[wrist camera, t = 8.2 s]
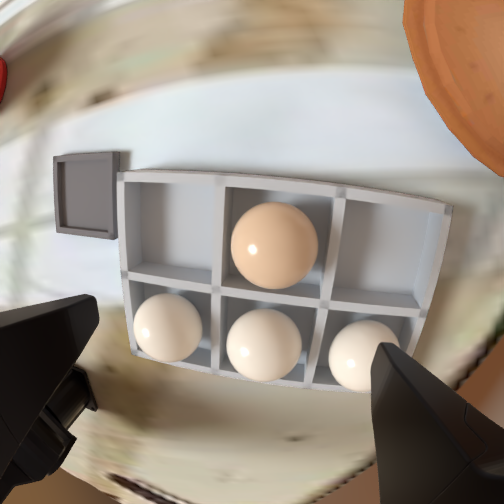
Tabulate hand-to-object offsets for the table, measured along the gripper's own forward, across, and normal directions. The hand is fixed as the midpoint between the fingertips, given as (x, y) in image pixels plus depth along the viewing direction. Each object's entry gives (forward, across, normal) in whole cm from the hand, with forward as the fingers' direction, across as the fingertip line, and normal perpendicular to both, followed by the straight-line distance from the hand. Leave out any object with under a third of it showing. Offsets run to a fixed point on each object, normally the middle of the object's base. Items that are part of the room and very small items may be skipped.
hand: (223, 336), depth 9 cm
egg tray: (+12, 0, +3) cm, 12 cm away
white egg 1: (+9, +6, +6) cm, 13 cm away
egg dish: (+12, +14, -2) cm, 19 cm away
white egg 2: (+9, 0, +6) cm, 11 cm away
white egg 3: (+9, -7, +6) cm, 13 cm away
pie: (+12, -14, -14) cm, 24 cm away
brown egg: (+9, 0, 0) cm, 9 cm away
